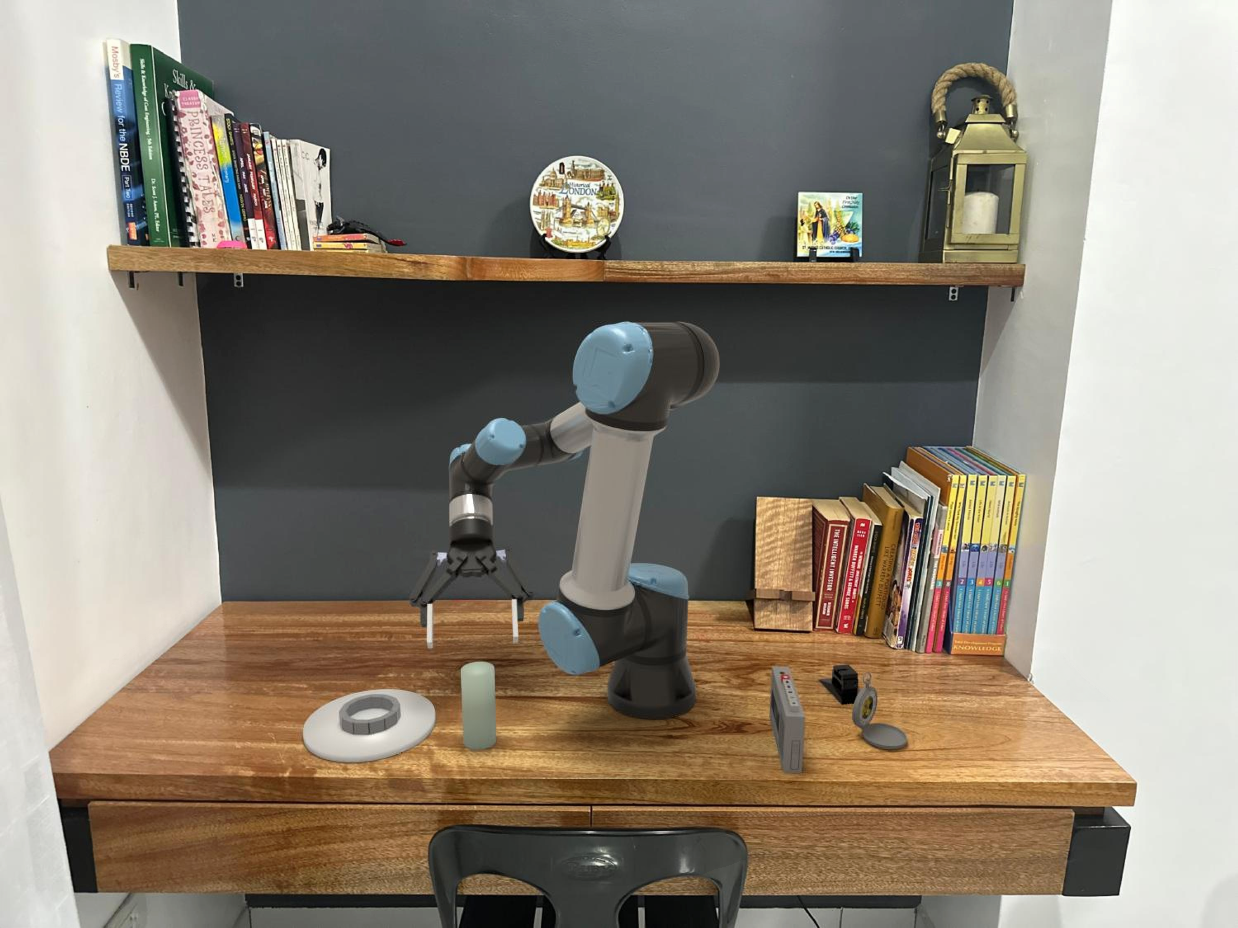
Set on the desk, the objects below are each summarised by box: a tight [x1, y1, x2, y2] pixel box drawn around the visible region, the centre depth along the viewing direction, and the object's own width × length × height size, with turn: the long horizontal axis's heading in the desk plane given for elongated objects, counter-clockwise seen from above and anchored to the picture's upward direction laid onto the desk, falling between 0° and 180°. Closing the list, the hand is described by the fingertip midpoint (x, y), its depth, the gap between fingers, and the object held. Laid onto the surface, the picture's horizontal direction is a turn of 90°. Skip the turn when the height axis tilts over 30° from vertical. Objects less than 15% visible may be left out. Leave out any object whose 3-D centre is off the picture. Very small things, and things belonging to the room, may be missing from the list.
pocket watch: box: [851, 671, 908, 750], centre depth 124 cm, size 8×8×10 cm
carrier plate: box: [302, 688, 436, 764], centre depth 126 cm, size 20×20×3 cm
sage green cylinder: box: [460, 661, 497, 751], centre depth 122 cm, size 5×5×12 cm
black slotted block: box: [817, 663, 868, 706], centre depth 139 cm, size 12×7×5 cm, turn 11°
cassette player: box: [768, 665, 806, 774], centre depth 122 cm, size 16×3×10 cm, turn 177°
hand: (473, 642), depth 128 cm, fingers open, 13 cm apart
